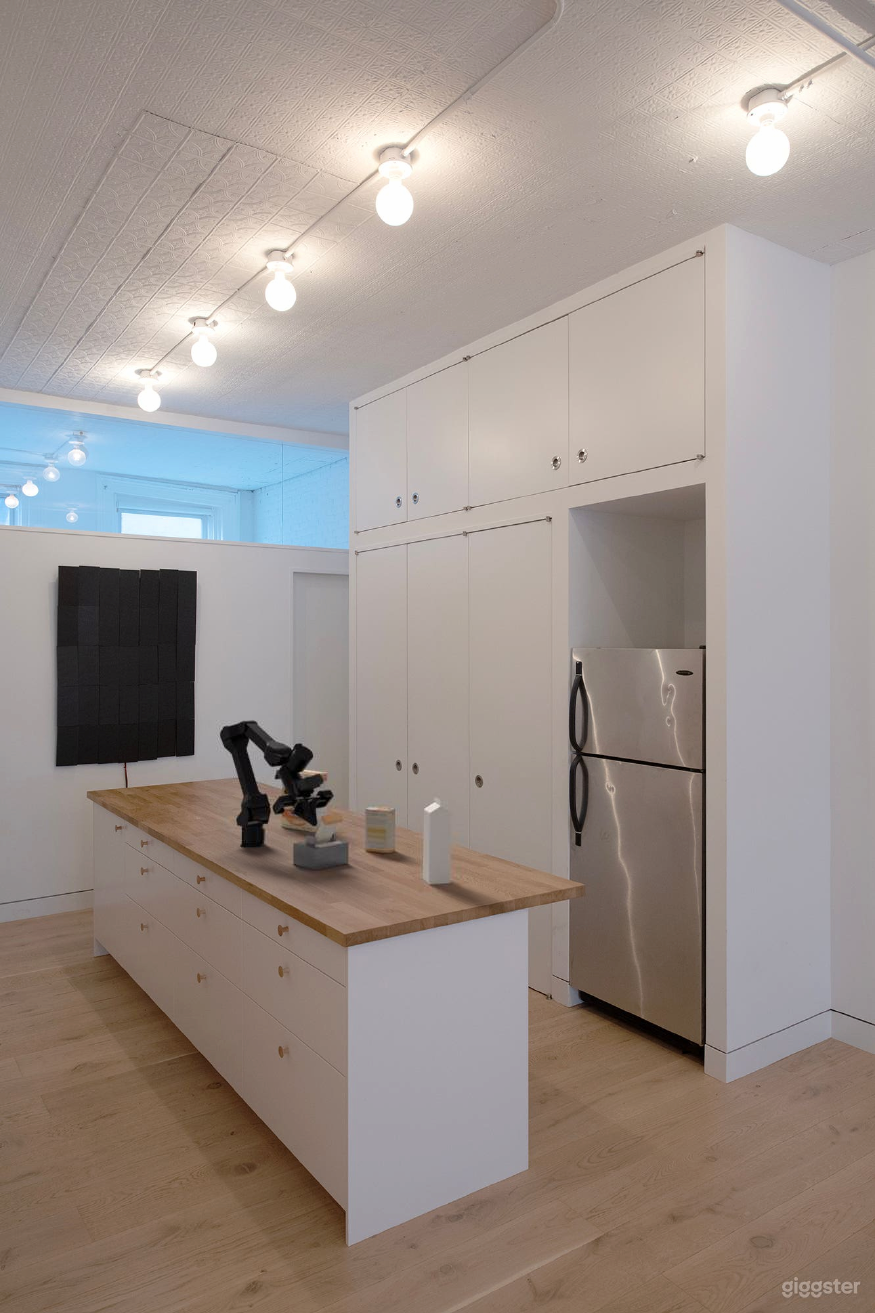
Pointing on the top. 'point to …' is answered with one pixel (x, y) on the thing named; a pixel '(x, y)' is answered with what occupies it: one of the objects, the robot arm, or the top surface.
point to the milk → (437, 844)
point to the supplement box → (380, 829)
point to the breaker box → (320, 853)
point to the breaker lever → (327, 827)
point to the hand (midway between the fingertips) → (315, 825)
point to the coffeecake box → (297, 822)
